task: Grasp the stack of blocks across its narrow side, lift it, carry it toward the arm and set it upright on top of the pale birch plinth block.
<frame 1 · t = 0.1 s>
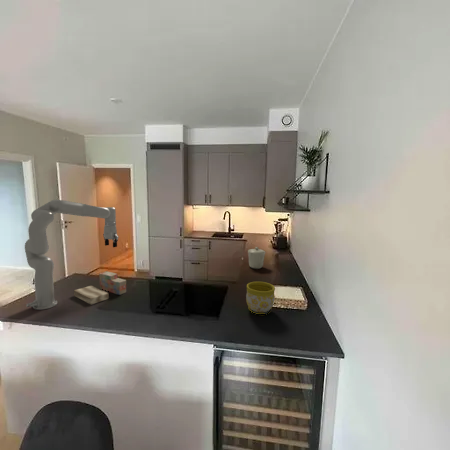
hand: (110, 246, 195), 31 cm above the counter, tool pointing down, fingers open, 9 cm apart
birch plinth: (91, 297, 176), on the counter
flowerpot: (259, 311, 165), on the counter
stack of blocks: (112, 290, 189), on the counter
canister: (255, 267, 261), on the counter
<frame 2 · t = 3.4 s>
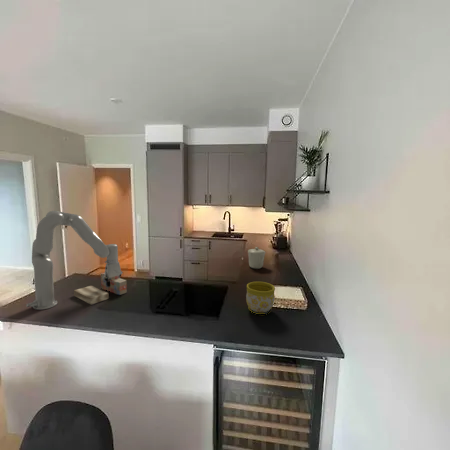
hand: (113, 284, 189), 4 cm above the counter, tool pointing down, fingers closed on stack of blocks, 6 cm apart
stack of blocks: (113, 290, 189), on the counter, touching gripper
everything else where it was.
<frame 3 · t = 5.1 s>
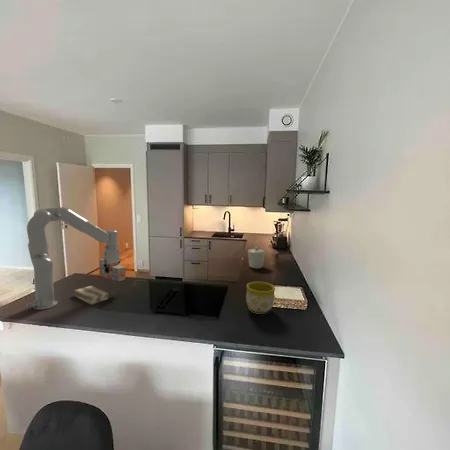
hand: (111, 271, 187), 15 cm above the counter, tool pointing down, fingers closed on stack of blocks, 6 cm apart
stack of blocks: (112, 277, 187), point 10 cm above the counter, touching gripper
everything else where it was.
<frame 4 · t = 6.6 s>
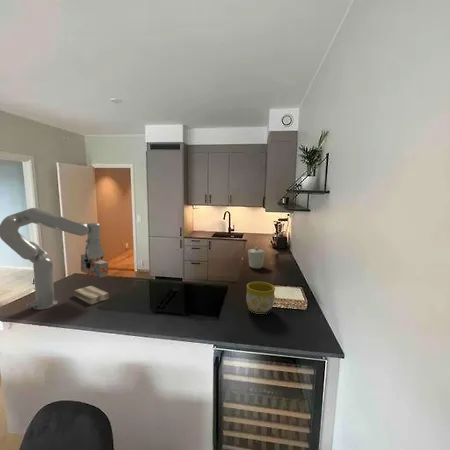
hand: (93, 267, 175), 21 cm above the counter, tool pointing down, fingers closed on stack of blocks, 6 cm apart
stack of blocks: (94, 273, 176), point 16 cm above the counter, touching gripper
everything else where it was.
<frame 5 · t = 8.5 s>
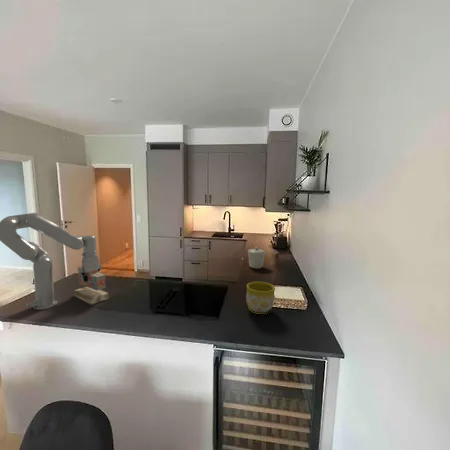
hand: (91, 279, 175), 13 cm above the counter, tool pointing down, fingers closed on stack of blocks, 6 cm apart
stack of blocks: (91, 286, 175), point 8 cm above the counter, touching gripper
everything else where it was.
when the fingers open (9 cm above the counter, at t = 10.0 s): stack of blocks drops 1 cm, resting on birch plinth.
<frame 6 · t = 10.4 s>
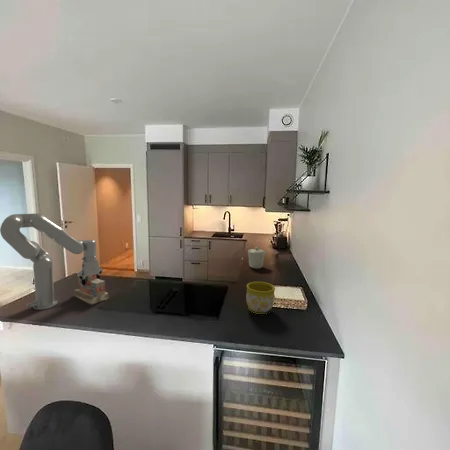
hand: (90, 282, 175), 10 cm above the counter, tool pointing down, fingers open, 9 cm apart
stack of blocks: (91, 292, 175), point 4 cm above the counter, touching birch plinth
everything else where it was.
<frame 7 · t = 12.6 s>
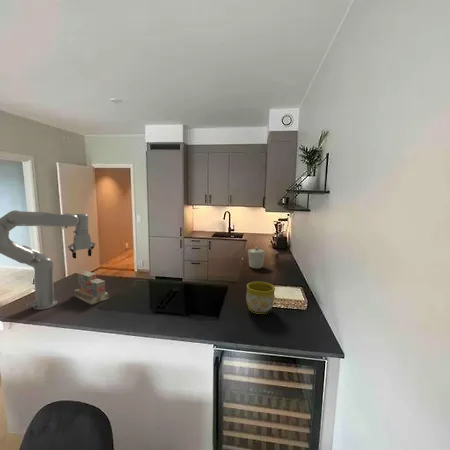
hand: (82, 257, 175), 28 cm above the counter, tool pointing down, fingers open, 9 cm apart
nothing on the counter moved.
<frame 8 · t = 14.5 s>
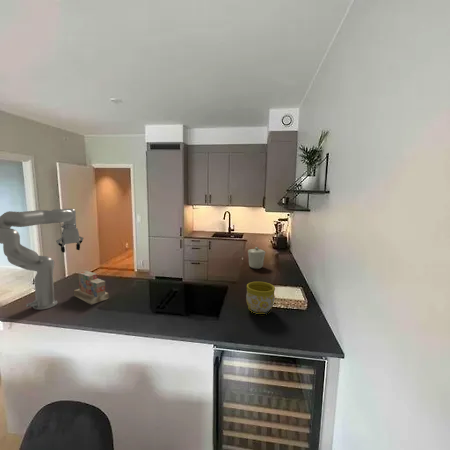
hand: (70, 251, 179), 30 cm above the counter, tool pointing down, fingers open, 9 cm apart
nothing on the counter moved.
at the end: stack of blocks inside the target area on the birch plinth (1.0 cm from its centre), point 3.8 cm above the birch plinth's base; stack of blocks tilted 0°; the gripper is holding nothing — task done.
